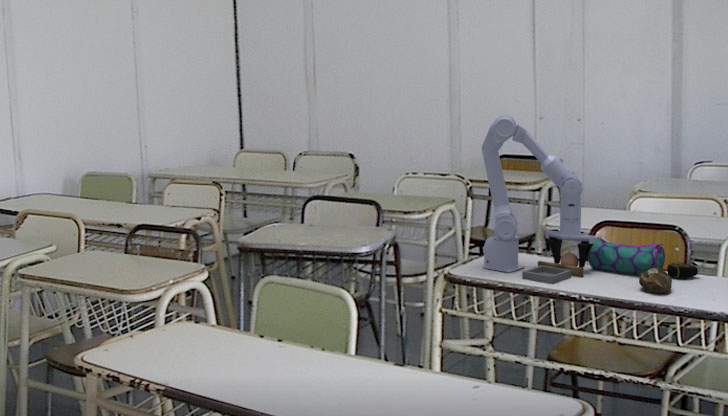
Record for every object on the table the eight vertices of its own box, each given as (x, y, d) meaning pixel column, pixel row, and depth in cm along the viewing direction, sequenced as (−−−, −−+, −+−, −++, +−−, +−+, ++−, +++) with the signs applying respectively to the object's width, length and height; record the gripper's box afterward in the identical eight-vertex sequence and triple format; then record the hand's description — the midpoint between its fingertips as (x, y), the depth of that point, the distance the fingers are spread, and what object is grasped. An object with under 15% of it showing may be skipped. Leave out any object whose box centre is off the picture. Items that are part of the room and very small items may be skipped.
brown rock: (634, 276, 221) (636, 291, 212) (649, 256, 219) (651, 271, 210) (659, 291, 221) (661, 307, 212) (674, 271, 218) (677, 287, 209)
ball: (557, 270, 239) (557, 253, 238) (566, 267, 243) (566, 250, 242) (572, 273, 236) (573, 255, 235) (581, 269, 239) (582, 252, 238)
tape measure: (699, 278, 228) (699, 265, 227) (681, 282, 224) (682, 268, 224) (679, 273, 234) (679, 260, 233) (661, 276, 230) (662, 263, 230)
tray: (522, 278, 231) (522, 271, 230) (541, 272, 237) (541, 265, 237) (552, 284, 224) (552, 276, 224) (571, 277, 231) (571, 270, 230)
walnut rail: (537, 270, 240) (537, 261, 240) (539, 269, 241) (540, 260, 241) (581, 277, 230) (581, 268, 230) (583, 276, 231) (583, 267, 231)
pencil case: (583, 270, 239) (584, 237, 237) (596, 265, 246) (597, 232, 244) (655, 281, 226) (656, 246, 224) (667, 274, 233) (668, 240, 231)
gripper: (540, 218, 238) (539, 264, 241) (588, 223, 229) (586, 271, 231) (552, 214, 244) (551, 260, 246) (599, 219, 234) (598, 266, 237)
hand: (569, 265), depth 239 cm, fingers open, 7 cm apart
